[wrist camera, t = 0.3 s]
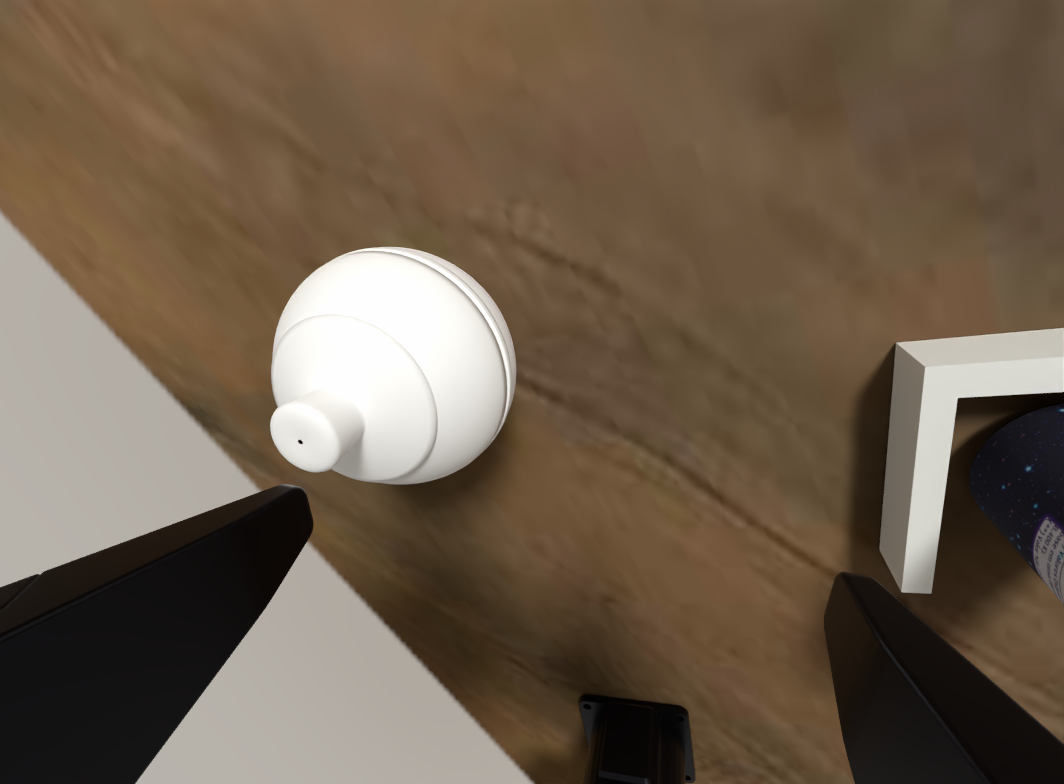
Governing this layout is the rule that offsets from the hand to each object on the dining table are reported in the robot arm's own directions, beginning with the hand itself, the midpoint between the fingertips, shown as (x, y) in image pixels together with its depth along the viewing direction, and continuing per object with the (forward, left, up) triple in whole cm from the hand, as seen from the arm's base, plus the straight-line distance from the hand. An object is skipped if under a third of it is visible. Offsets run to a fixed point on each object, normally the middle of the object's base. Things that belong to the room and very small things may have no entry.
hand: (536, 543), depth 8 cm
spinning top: (+1, +6, -14) cm, 16 cm away
